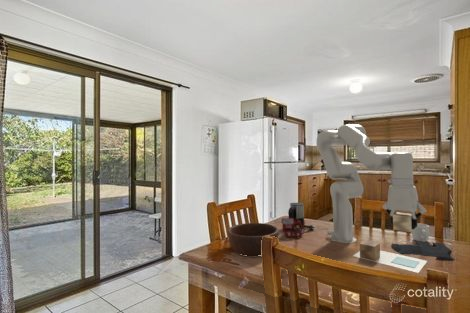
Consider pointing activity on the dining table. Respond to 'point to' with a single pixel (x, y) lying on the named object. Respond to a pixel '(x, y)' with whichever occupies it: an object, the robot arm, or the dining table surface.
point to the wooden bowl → (249, 237)
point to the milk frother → (298, 213)
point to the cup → (421, 232)
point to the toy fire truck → (292, 227)
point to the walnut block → (370, 250)
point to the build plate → (399, 261)
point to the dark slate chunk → (425, 250)
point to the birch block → (402, 222)
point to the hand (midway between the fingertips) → (404, 226)
